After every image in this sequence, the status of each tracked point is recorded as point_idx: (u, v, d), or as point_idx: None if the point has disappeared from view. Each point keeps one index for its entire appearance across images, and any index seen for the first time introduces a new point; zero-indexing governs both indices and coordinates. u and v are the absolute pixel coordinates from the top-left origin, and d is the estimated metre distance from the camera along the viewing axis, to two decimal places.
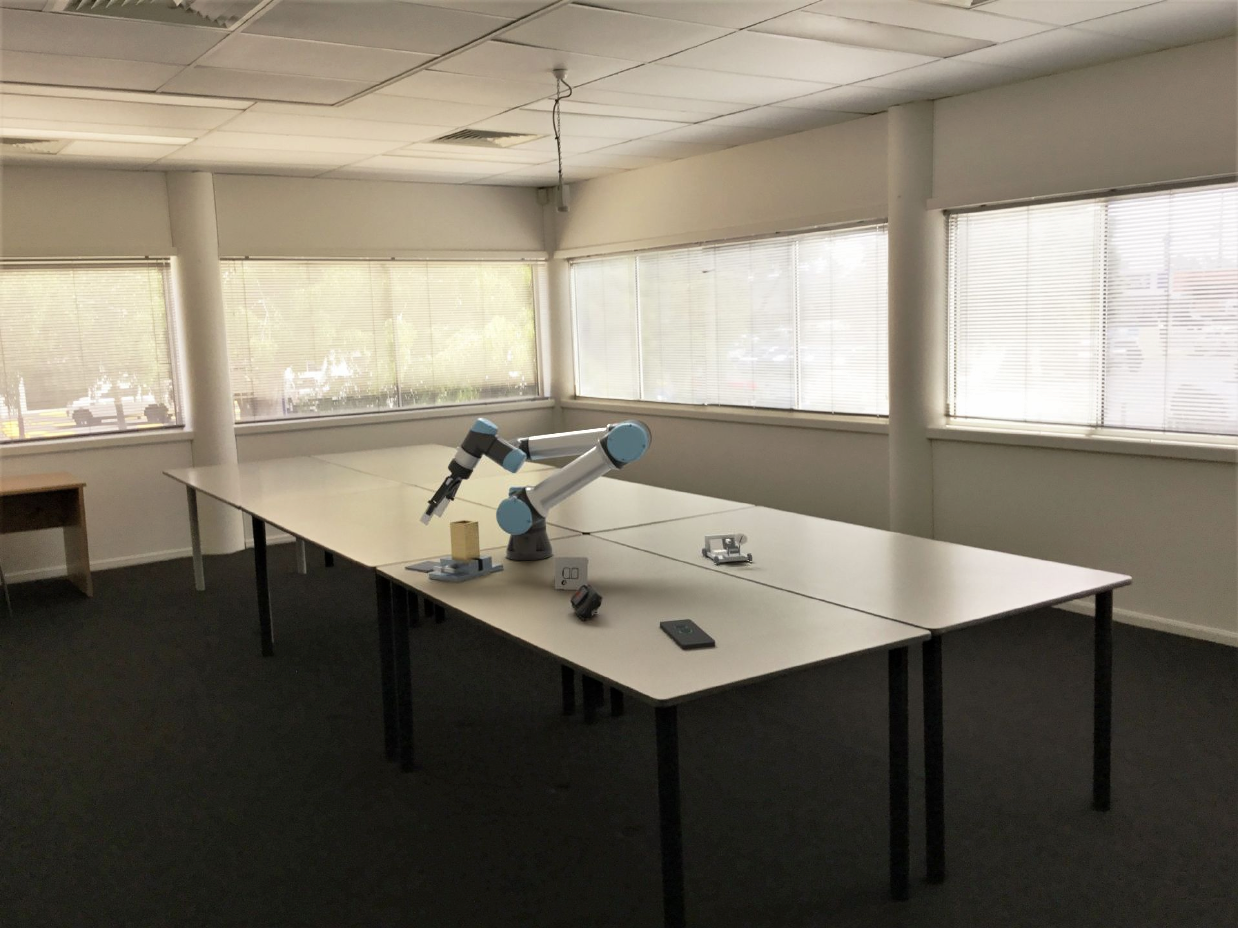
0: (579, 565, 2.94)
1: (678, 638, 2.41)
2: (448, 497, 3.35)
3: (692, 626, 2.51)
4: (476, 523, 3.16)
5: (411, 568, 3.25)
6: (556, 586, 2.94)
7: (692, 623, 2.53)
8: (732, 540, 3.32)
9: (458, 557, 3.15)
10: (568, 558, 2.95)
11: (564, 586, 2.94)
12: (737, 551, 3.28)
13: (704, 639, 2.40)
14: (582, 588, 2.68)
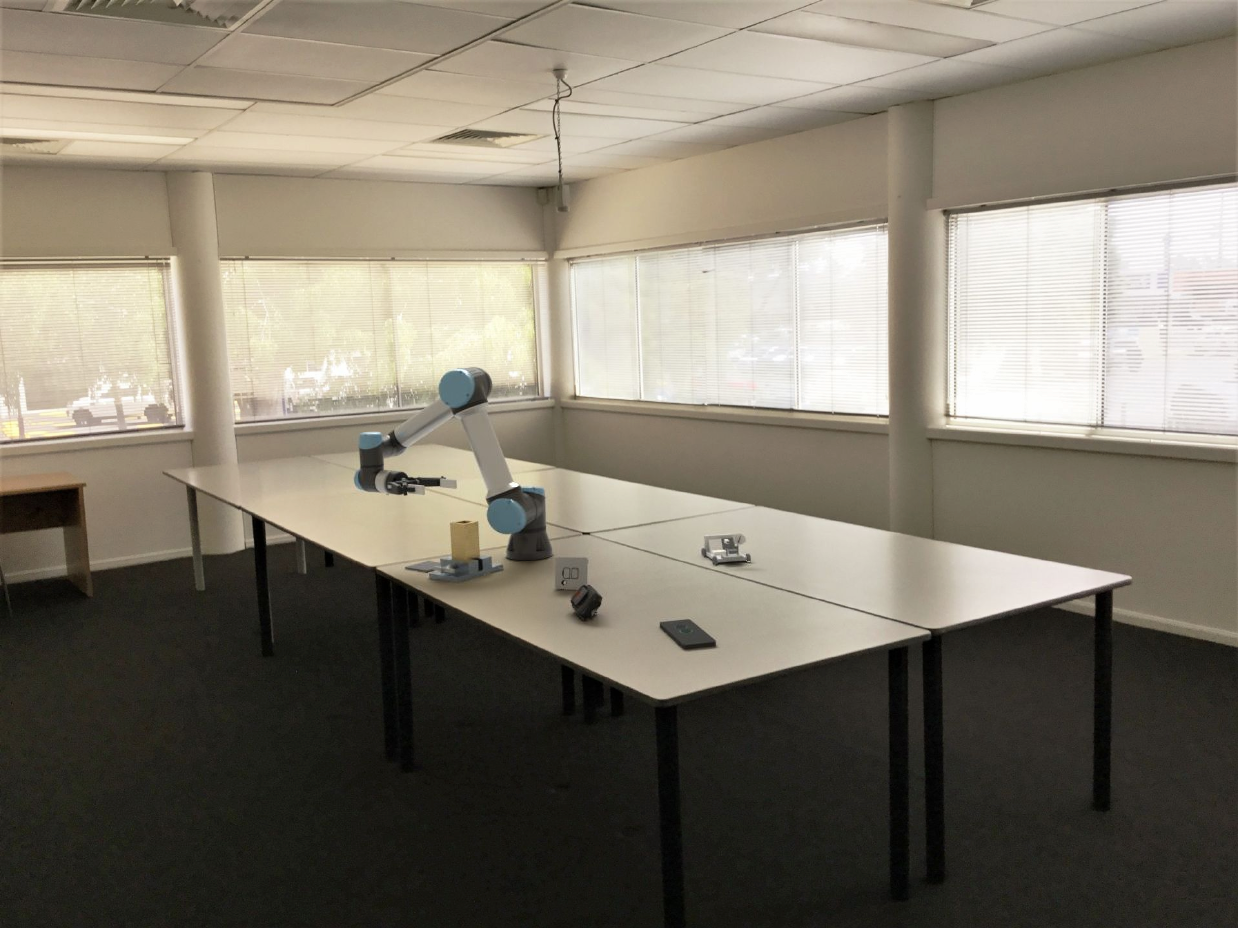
0: (579, 565, 2.94)
1: (679, 638, 2.41)
2: None
3: (692, 626, 2.51)
4: (476, 523, 3.16)
5: (411, 568, 3.25)
6: (556, 586, 2.94)
7: (692, 623, 2.53)
8: (731, 540, 3.32)
9: (458, 557, 3.15)
10: (568, 558, 2.95)
11: (564, 586, 2.94)
12: (736, 551, 3.27)
13: (705, 639, 2.40)
14: (582, 588, 2.68)
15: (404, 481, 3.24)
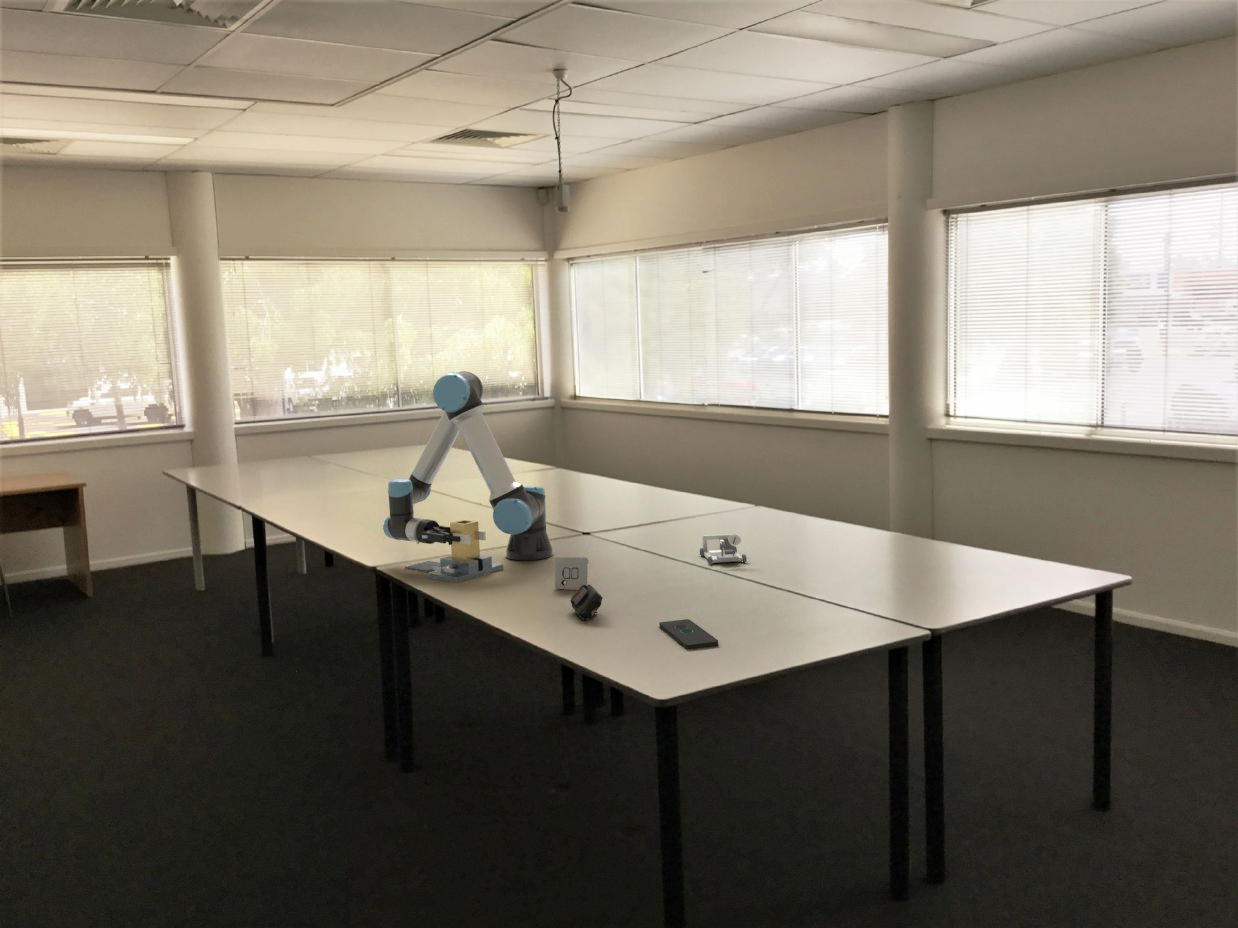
0: (579, 565, 2.94)
1: (681, 638, 2.41)
2: None
3: (692, 626, 2.51)
4: (476, 523, 3.16)
5: (411, 568, 3.25)
6: (556, 586, 2.94)
7: (692, 623, 2.53)
8: None
9: (458, 557, 3.15)
10: (568, 558, 2.95)
11: (564, 586, 2.94)
12: (733, 552, 3.27)
13: (707, 638, 2.40)
14: (582, 588, 2.68)
15: (440, 530, 3.19)
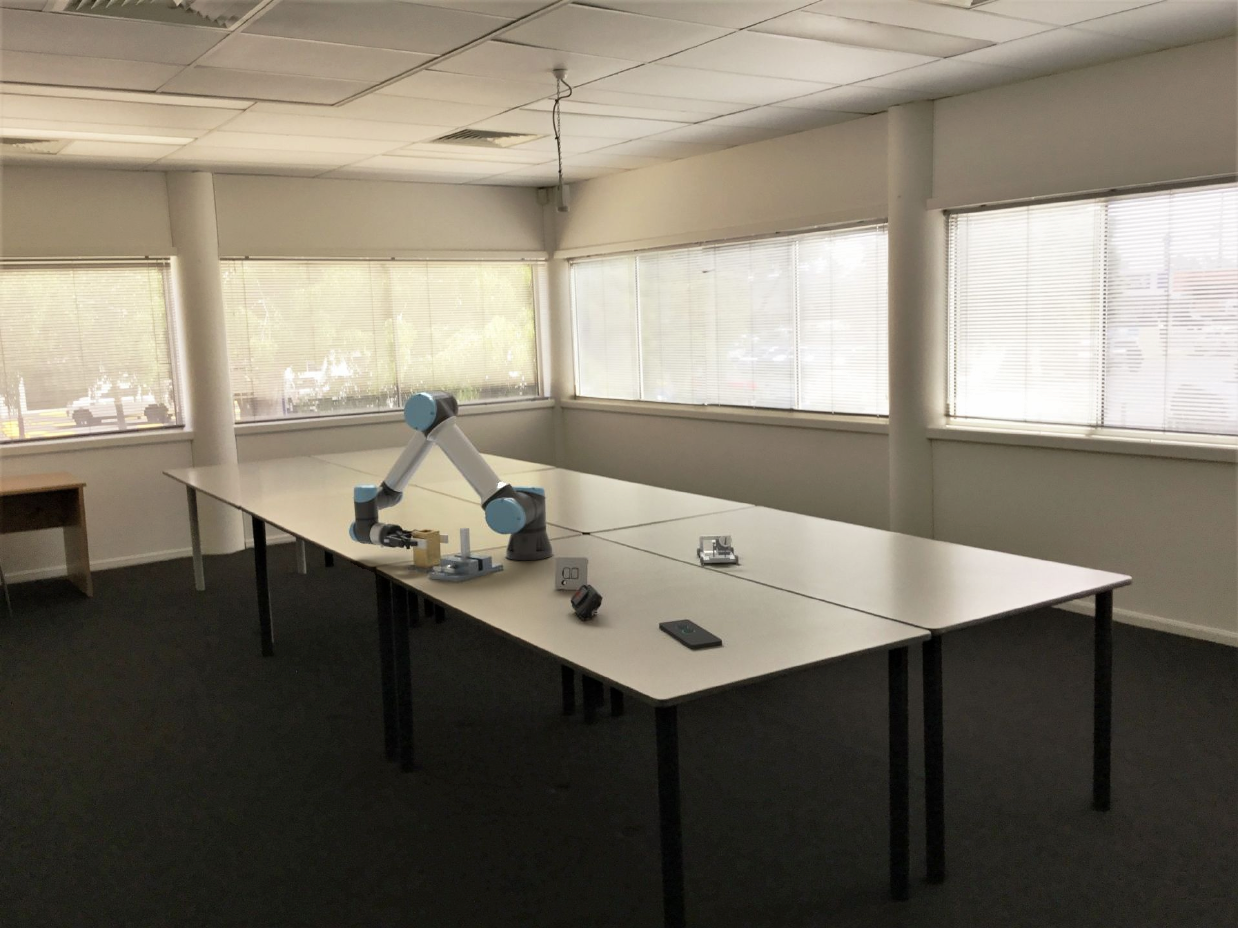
0: (579, 565, 2.94)
1: (684, 638, 2.41)
2: None
3: (693, 626, 2.51)
4: (437, 532, 3.27)
5: (411, 568, 3.25)
6: (556, 586, 2.94)
7: (692, 623, 2.53)
8: None
9: (420, 565, 3.25)
10: (568, 558, 2.95)
11: (564, 586, 2.94)
12: (728, 553, 3.26)
13: (711, 638, 2.40)
14: (582, 588, 2.68)
15: (401, 534, 3.29)
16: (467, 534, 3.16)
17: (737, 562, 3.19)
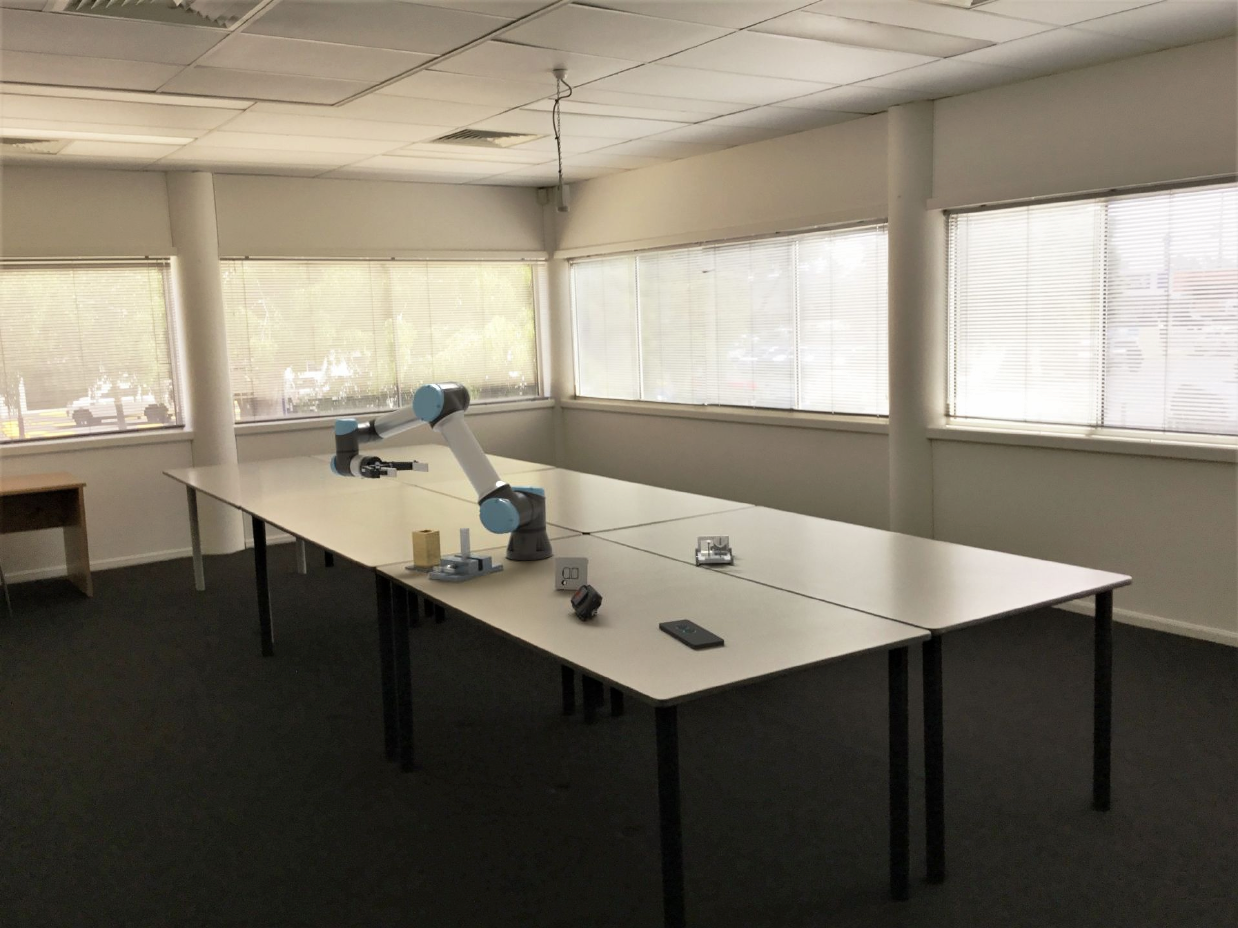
0: (579, 565, 2.94)
1: (686, 638, 2.41)
2: (413, 465, 3.42)
3: (693, 626, 2.51)
4: (437, 532, 3.27)
5: (411, 568, 3.25)
6: (556, 586, 2.94)
7: (692, 623, 2.53)
8: None
9: (420, 565, 3.25)
10: (568, 558, 2.95)
11: (564, 586, 2.94)
12: (725, 553, 3.25)
13: (713, 638, 2.41)
14: (582, 588, 2.68)
15: (377, 465, 3.36)
16: (467, 534, 3.16)
17: (732, 563, 3.18)
